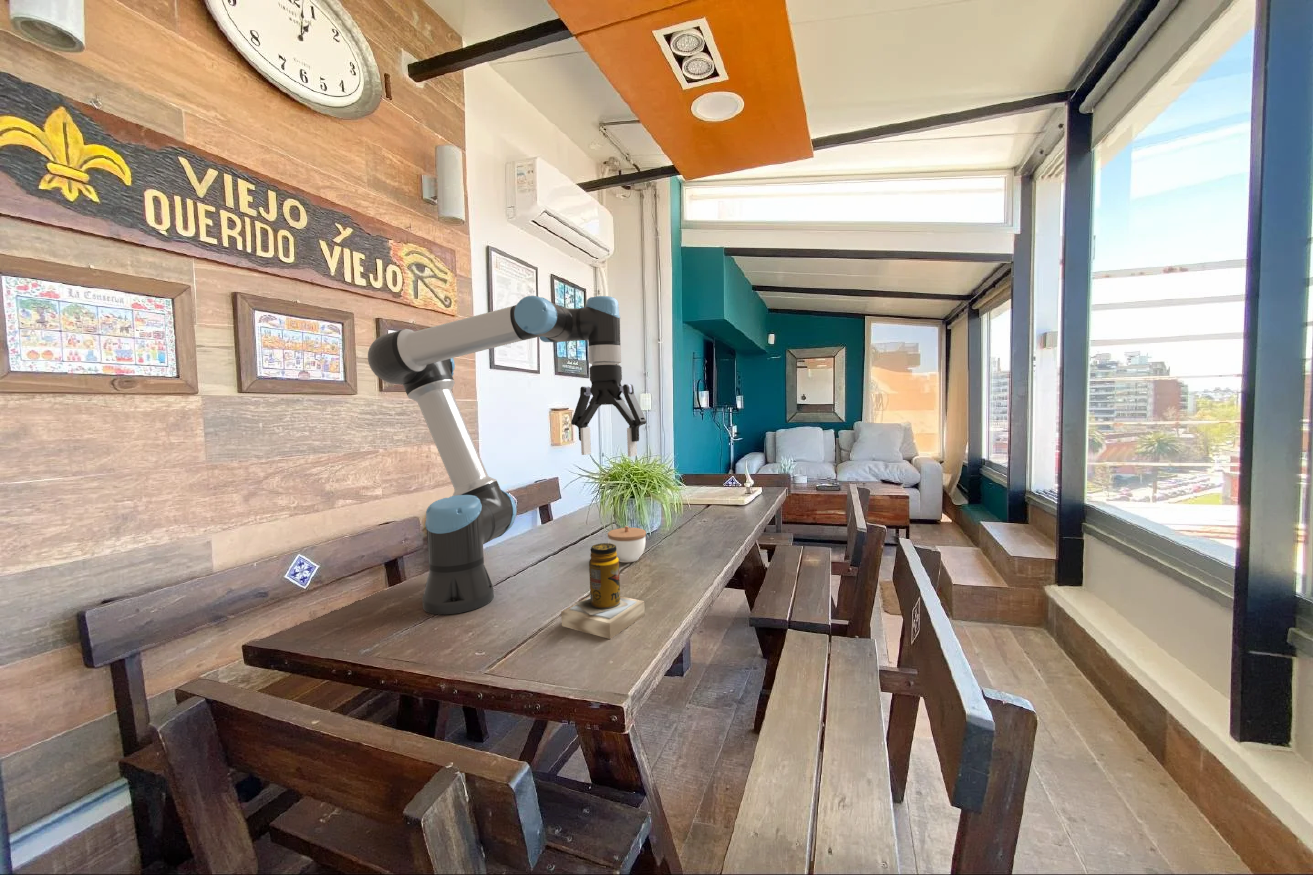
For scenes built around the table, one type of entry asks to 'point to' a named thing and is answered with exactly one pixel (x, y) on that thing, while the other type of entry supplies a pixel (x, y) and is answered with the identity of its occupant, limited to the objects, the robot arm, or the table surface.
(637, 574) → the table surface
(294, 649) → the table surface
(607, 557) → the condiment
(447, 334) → the robot arm
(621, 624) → the plinth
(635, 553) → the lidded jar
